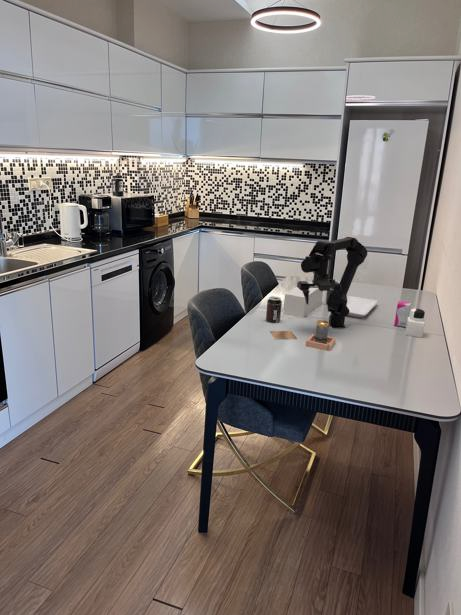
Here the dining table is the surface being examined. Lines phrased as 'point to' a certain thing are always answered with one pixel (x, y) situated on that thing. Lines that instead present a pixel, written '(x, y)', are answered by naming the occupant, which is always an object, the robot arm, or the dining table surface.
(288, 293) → the long white box
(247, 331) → the dining table surface
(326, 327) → the battery cell
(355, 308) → the tray
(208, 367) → the dining table surface
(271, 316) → the beverage can
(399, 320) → the supplement box
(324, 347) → the shallow wooden box
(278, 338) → the tester plate
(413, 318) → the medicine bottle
